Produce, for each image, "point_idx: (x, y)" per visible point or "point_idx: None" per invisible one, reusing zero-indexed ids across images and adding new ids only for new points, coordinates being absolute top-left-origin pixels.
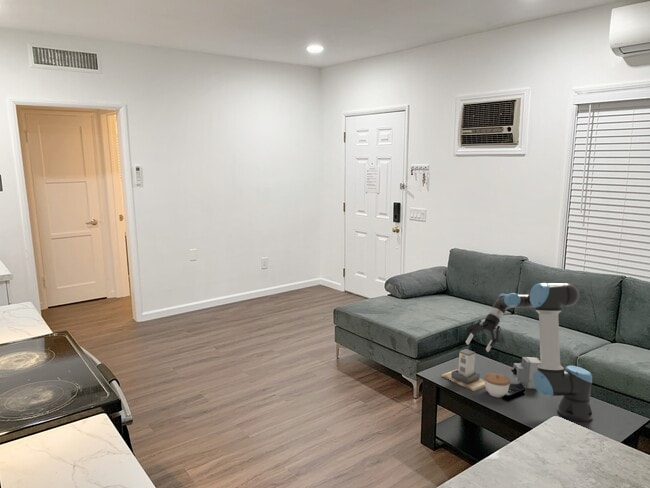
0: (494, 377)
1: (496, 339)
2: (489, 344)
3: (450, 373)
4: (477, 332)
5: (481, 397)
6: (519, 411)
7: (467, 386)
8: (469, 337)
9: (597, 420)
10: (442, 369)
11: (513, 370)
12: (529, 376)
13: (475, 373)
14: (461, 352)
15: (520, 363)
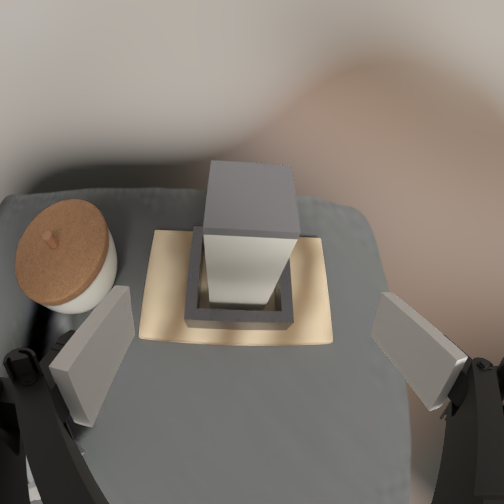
0: (64, 235)
1: None
2: (87, 321)
3: (312, 273)
4: (441, 461)
5: (116, 219)
6: (16, 235)
7: (185, 231)
8: (417, 326)
9: None
10: (368, 297)
11: None
12: None
13: (205, 309)
14: (272, 167)
15: (30, 477)
